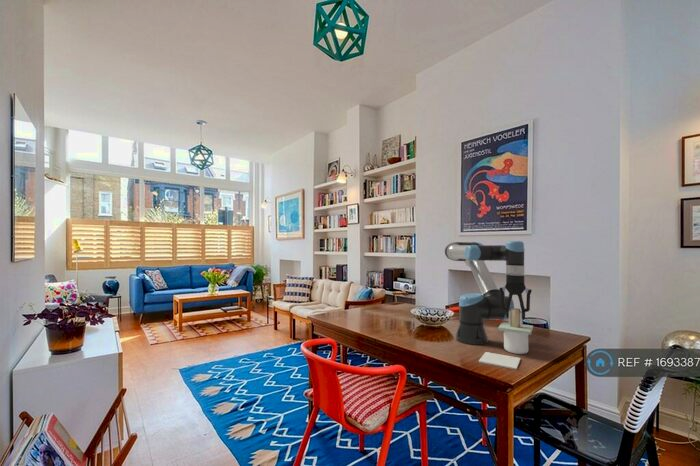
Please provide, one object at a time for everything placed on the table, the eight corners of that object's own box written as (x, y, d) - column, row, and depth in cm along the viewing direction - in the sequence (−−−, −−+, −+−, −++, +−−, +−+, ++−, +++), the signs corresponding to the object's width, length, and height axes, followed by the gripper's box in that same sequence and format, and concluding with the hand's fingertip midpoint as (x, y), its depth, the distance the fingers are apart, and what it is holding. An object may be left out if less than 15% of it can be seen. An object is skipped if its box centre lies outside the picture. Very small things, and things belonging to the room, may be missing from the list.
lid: (498, 330, 147) (497, 309, 148) (502, 324, 158) (502, 305, 158) (530, 334, 140) (530, 313, 140) (533, 328, 151) (532, 308, 151)
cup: (499, 348, 153) (499, 326, 154) (519, 347, 154) (519, 326, 155) (511, 355, 143) (511, 332, 144) (533, 354, 144) (533, 332, 145)
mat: (478, 362, 134) (478, 360, 134) (485, 353, 146) (485, 351, 146) (516, 369, 126) (516, 368, 126) (520, 359, 138) (520, 358, 138)
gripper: (493, 274, 152) (494, 324, 151) (535, 276, 142) (536, 330, 141) (496, 273, 158) (497, 321, 157) (536, 275, 149) (537, 326, 148)
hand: (515, 325), depth 149 cm, fingers closed on lid, 4 cm apart
